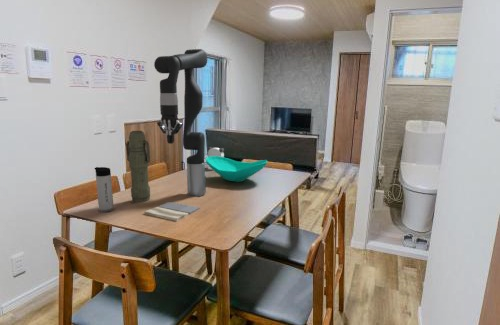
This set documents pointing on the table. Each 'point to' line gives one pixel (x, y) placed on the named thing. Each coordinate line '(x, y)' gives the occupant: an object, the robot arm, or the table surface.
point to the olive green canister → (138, 166)
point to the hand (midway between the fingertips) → (170, 143)
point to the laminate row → (179, 207)
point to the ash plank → (166, 213)
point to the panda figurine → (215, 153)
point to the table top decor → (234, 168)
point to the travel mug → (104, 189)
